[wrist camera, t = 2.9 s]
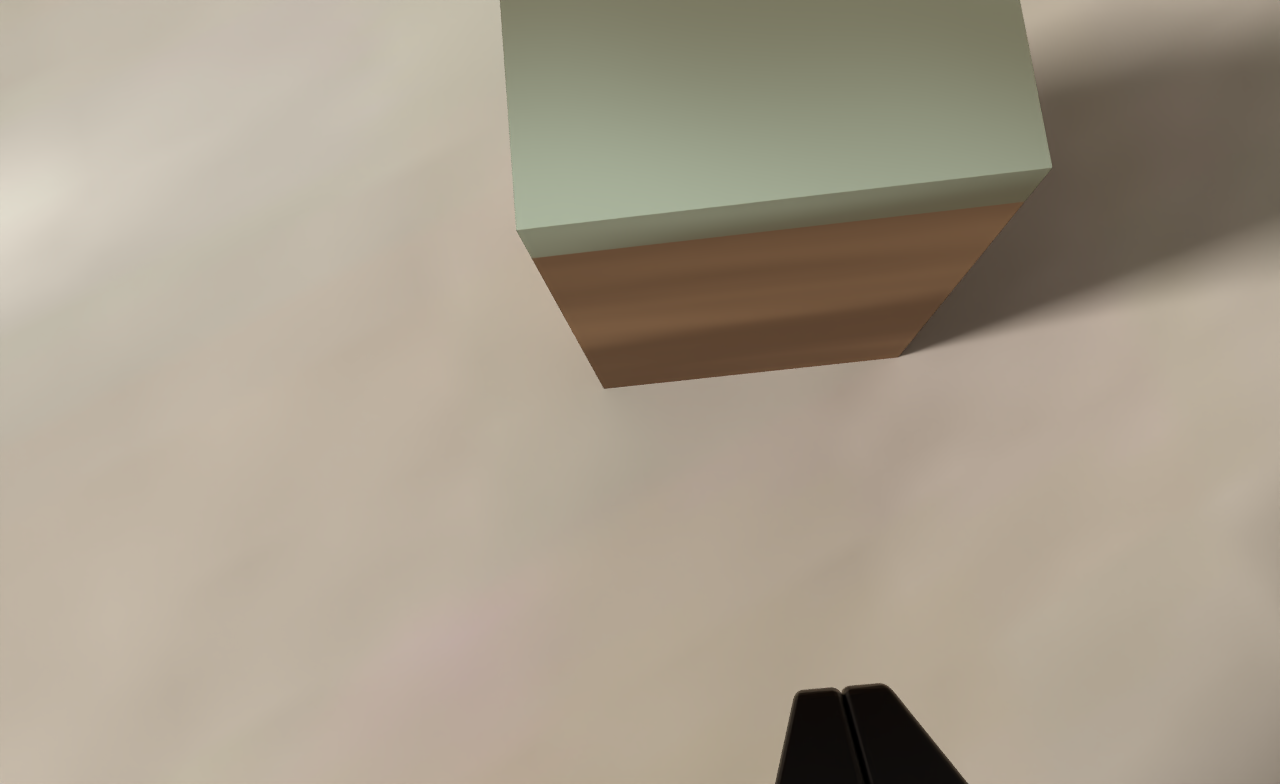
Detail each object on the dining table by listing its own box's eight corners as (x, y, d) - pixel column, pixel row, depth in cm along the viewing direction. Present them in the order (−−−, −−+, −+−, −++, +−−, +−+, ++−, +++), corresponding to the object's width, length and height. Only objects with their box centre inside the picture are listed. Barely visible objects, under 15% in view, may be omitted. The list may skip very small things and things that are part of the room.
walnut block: (897, 356, 16) (1051, 168, 9) (604, 388, 16) (516, 230, 9) (869, 165, 17) (989, -159, 10) (587, 197, 17) (493, -93, 10)
